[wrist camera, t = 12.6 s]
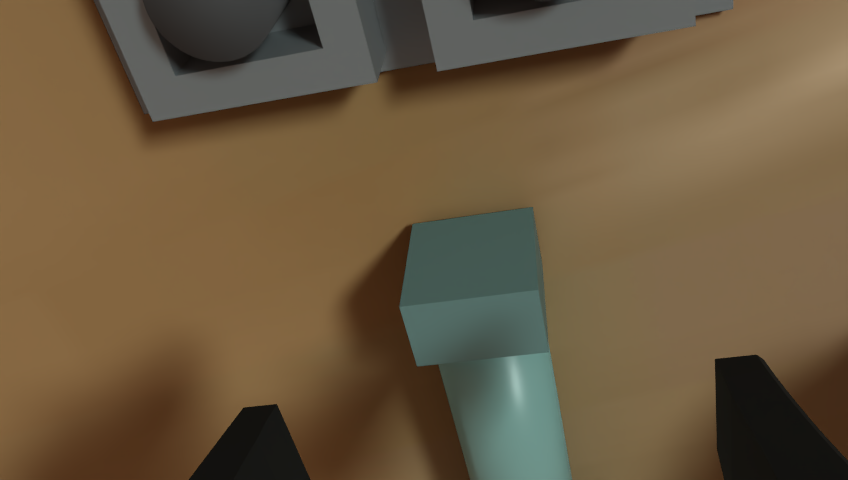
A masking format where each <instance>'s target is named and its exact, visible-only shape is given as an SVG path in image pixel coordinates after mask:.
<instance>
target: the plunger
mask: <svg viewBox="0 0 848 480" xmlns="http://www.w3.org/2000/svg"><path fill="white" fill-rule="evenodd" d="M290 1H291V0H143V3H144V6H145V9H146V11H147V13H148V16H149V18H150V19H151V21H152V23H153V24H154V26H155V27H156V28H157V30H158V31H159V32H160V34H161V35H162V36H163V37H164V38H165V39H166V40H167V41H169V42H170V43H171V44H172V45H173V46H175V47H176V48H178V49H179V50H181V51H182V52H184V53H186V54H188V55H190V56H193V57H195V58H198V59H202V60H206V61H212V62H227V61H233V60H237V59H240V58H242V57H245V56H247V55H248V54H250V53H252V52H253V51H254V50H256V49H257V48H258V47H259V46H260V45H261V44H262V43H263V42H264V40H265V39H266V37H267V36H268V34H269V33H270V31H271V30H272V28H273V27H274V25H275V24H276V22H277V21H278V19H279V18H280V16H281V15H282V13H283V12H284V10H285V9H286V7H287V6H288V4H289V3H290Z"/></svg>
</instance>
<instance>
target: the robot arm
mask: <svg viewBox="0 0 848 480" xmlns="http://www.w3.org/2000/svg"><path fill="white" fill-rule="evenodd" d="M715 379H716V424H717V451H718V455H719V459H720V463H721V468H722V472H723V476H724V480H848V460H847V459H846V458H845V457H844V456H843V455H842V454H841V453H840V452H839V451H838V450H837V449H836V447H835V446H834V445H833V444H832V443H831V442H830V441H829V440H828V439H827V438H826V437H825V436H824V434H823V433H822V432H821V431H820V430H819V429H818V428H817V426H816V425H815V424H814V423H813V422H812V421H811V419H810V418H809V417H808V416H807V415H806V413H805V412H804V411H803V410H802V409H801V407H800V406H799V405H798V404H797V403H796V402H795V400H794V399H793V398H792V397H791V395H790V394H789V393H788V392H787V390H786V389H785V388H784V386H783V385H782V384H781V383H780V381H779V380H778V379H777V377H776V376H775V375H774V373H773V372H772V371H771V369H770V368H769V366H768V365H767V364H766V362H765V361H764V360H763V359H762V358H760V357H759V356H758V355H750V356H740V357H730V358H721V359H715ZM189 480H310V478H309V476H308V473H307V471H306V469H305V467H304V464H303V462H302V460H301V458H300V455H299V453H298V451H297V449H296V446H295V444H294V442H293V440H292V437H291V435H290V433H289V431H288V428H287V426H286V424H285V422H284V419H283V417H282V415H281V413H280V410H279V408H278V406H277V404H274V405H265V406H255V407H245V408H243V409H242V411H241V412H240V413H239V414H238V416H237V417H236V418H235V420H234V421H233V422H232V423H231V425H230V426H229V427H228V429H227V430H226V431H225V433H224V434H223V435H222V437H221V438H220V439H219V441H218V442H217V443H216V445H215V446H214V447H213V449H212V450H211V451H210V452H209V454H208V455H207V456H206V458H205V459H204V460H203V462H202V463H201V464H200V466H199V467H198V468H197V470H196V471H195V472H194V474H193V475H192V476H191V478H190V479H189Z"/></svg>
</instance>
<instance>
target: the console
mask: <svg viewBox="0 0 848 480" xmlns="http://www.w3.org/2000/svg"><path fill="white" fill-rule="evenodd" d="M94 3H95V5H96V7H97V9H98V11H99V14H100V16H101V18H102V20H103V23H104V25H105V27H106V29H107V32H108V34H109V36H110V38H111V41H112V43H113V45H114V47H115V50H116V52H117V54H118V56H119V58H120V61H121V63H122V65H123V67H124V70H125V72H126V74H127V76H128V79H129V81H130V83H131V85H132V88H133V90H134V92H135V94H136V97H137V99H138V101H139V103H140V105H141V108H142V110H143V112H144V114H148V113H149V114H150V117H151V119H152V121H153V122H154V121H160V120H166V119H171V118H177V117H183V116H188V115H194V114H200V113H205V112H211V111H217V110H222V109H228V108H234V107H239V106H245V105H251V104H256V103H262V102H268V101H273V100H279V99H285V98H290V97H296V96H302V95H307V94H313V93H319V92H324V91H330V90H336V89H341V88H347V87H353V86H358V85H364V84H370V83H375V82H377V81H378V78H379V75H380V72H383V71H389V70H394V69H400V68H406V67H411V66H417V65H422V64H428V63H434V62H435V63H436V68H437V71H443V70H449V69H454V68H460V67H466V66H471V65H477V64H483V63H488V62H494V61H500V60H505V59H511V58H517V57H522V56H528V55H534V54H539V53H545V52H551V51H556V50H562V49H568V48H573V47H579V46H585V45H590V44H596V43H602V42H607V41H613V40H619V39H624V38H630V37H636V36H641V35H647V34H653V33H658V32H664V31H670V30H675V29H681V28H687V27H692V26H696V22H695V16H696V15H702V14H708V13H713V12H719V11H724V10H730V9H733V0H549V1H538V0H291V1H290V3H289V4H288V6H287V7H286V9H285V10H284V12H283V13H282V15H281V16H280V18H279V19H278V21H277V22H276V24H275V25H274V27H273V28H272V30H271V31H270V33H269V34H268V36H267V37H266V39H265V40H264V42H263V43H262V44H261V45H260V46H259V47H258V48H257V49H256V50H254V51H253V52H252V53H250V54H248V55H247V56H245V57H242V58H240V59H237V60H233V61H227V62H212V61H206V60H202V59H198V58H195V57H193V56H190V55H188V54H186V53H184V52H182V51H181V50H179V49H178V48H176V47H175V46H173V45H172V44H171V43H170V42H169V41H167V40H166V39H165V38H164V37H163V36H162V35H161V34H160V32H159V31H158V30H157V28H156V27H155V26H154V24H153V23H152V21H151V19H150V18H149V16H148V13H147V11H146V9H145V6H144V3H143V0H94Z"/></svg>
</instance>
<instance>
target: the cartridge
mask: <svg viewBox="0 0 848 480" xmlns="http://www.w3.org/2000/svg"><path fill="white" fill-rule="evenodd" d="M399 307H400V311H401V314H402V317H403V321H404V324H405V328H406V331H407V334H408V338H409V341H410V344H411V348H412V351H413V354H414V358H415V361H416V364H417V367H418V366H427V365H436V364H438V366H439V369H440V373H441V376H442V380H443V384H444V387H445V391H446V394H447V398H448V402H449V405H450V409H451V412H452V416H453V420H454V423H455V427H456V430H457V434H458V438H459V441H460V445H461V448H462V452H463V455H464V459H465V463H466V466H467V470H468V473H469V477H470V480H572V476H571V470H570V464H569V459H568V453H567V447H566V441H565V436H564V430H563V424H562V418H561V412H560V407H559V401H558V395H557V389H556V384H555V378H554V372H553V366H552V360H551V355H550V349H549V343H548V332H547V319H546V306H545V293H544V281H543V268H542V260H541V254H540V248H539V242H538V236H537V230H536V224H535V218H534V212H533V207H530V208H523V209H516V210H509V211H502V212H495V213H487V214H480V215H473V216H466V217H459V218H452V219H445V220H438V221H431V222H424V223H417V224H412V231H411V237H410V243H409V250H408V256H407V262H406V268H405V275H404V281H403V287H402V294H401V300H400V306H399Z"/></svg>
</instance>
